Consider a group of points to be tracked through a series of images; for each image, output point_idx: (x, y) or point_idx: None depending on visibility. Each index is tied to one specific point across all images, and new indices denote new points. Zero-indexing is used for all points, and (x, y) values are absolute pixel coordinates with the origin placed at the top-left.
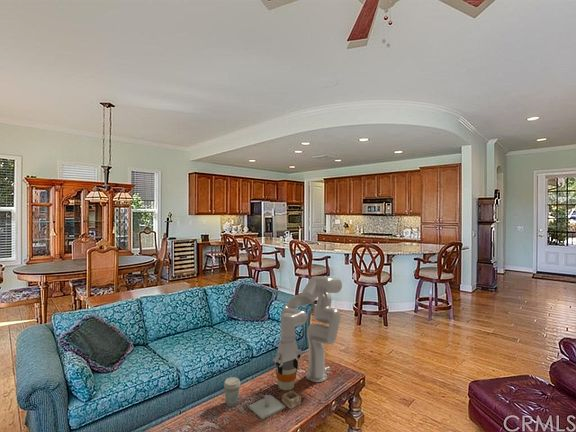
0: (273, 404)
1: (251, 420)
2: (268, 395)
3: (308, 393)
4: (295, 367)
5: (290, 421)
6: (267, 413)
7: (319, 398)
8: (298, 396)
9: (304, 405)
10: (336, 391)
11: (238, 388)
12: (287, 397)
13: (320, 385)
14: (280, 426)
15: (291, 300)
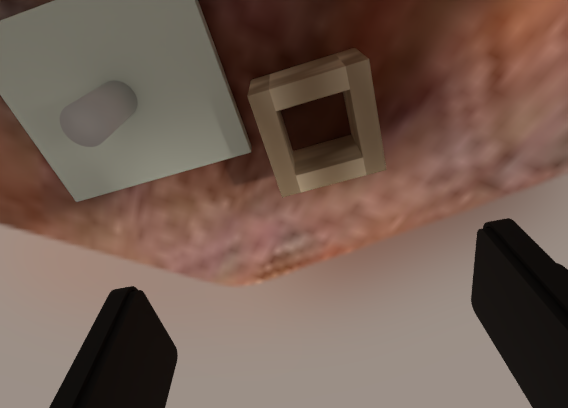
0: (172, 105)
1: (10, 179)
2: (99, 123)
3: (502, 49)
4: (481, 292)
5: (240, 255)
6: (113, 179)
7: (520, 140)
8: (366, 167)
9: None
10: None
11: None
12: (279, 147)
13: None
14: (178, 268)
15: None
